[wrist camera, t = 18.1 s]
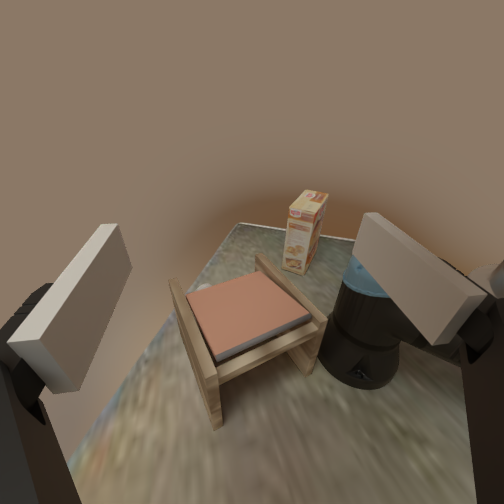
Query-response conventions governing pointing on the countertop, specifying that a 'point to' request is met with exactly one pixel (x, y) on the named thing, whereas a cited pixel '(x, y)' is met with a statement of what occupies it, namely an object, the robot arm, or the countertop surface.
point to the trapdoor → (243, 313)
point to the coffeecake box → (303, 231)
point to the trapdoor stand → (291, 341)
